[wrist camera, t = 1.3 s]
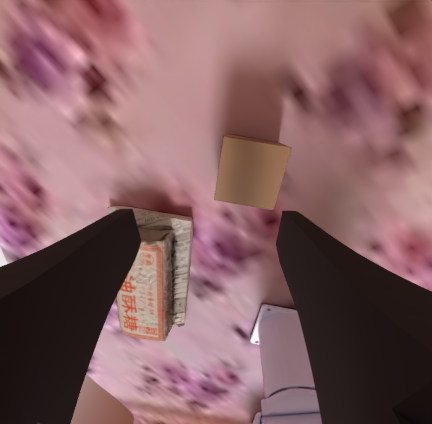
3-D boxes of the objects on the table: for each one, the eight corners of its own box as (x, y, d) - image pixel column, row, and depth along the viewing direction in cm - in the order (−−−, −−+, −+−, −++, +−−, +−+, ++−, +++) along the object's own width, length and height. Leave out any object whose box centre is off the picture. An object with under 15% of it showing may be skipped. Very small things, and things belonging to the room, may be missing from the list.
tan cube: (278, 142, 19) (291, 147, 14) (265, 191, 21) (273, 210, 16) (226, 133, 19) (223, 136, 14) (218, 183, 21) (213, 199, 16)
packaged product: (178, 351, 26) (106, 338, 27) (187, 318, 31) (125, 307, 31) (185, 235, 19) (84, 220, 19) (195, 214, 23) (113, 202, 24)
